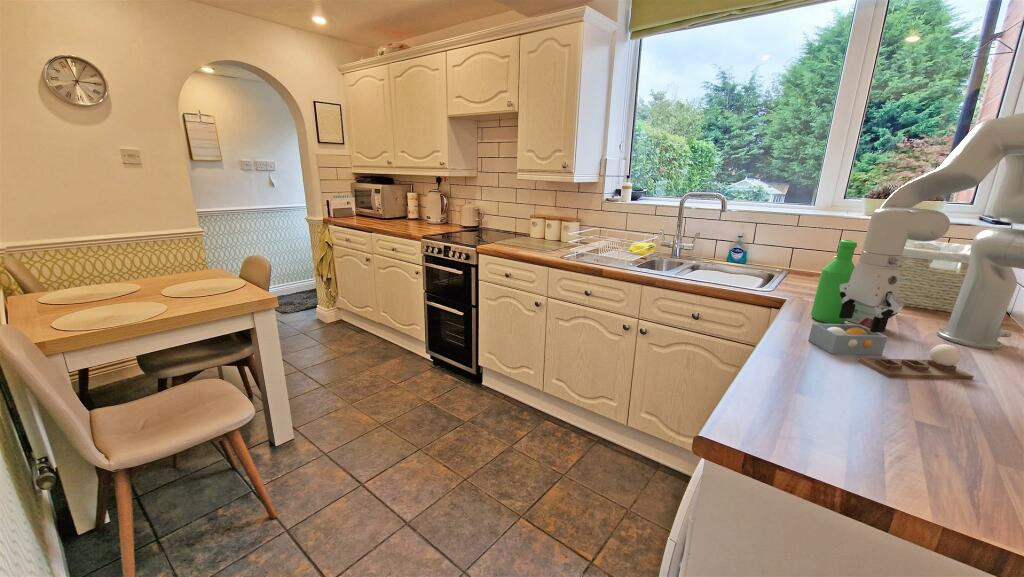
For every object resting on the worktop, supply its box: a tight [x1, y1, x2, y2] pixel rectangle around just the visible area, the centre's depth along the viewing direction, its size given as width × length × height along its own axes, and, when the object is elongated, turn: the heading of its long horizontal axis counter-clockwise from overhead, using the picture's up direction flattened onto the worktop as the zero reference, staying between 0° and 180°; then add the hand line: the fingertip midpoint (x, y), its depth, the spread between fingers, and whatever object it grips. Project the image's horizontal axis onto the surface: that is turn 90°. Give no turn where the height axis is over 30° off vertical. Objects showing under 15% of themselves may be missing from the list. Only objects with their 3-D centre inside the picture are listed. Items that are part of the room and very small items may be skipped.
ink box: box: [846, 301, 884, 329], centre depth 126 cm, size 8×5×12 cm, turn 26°
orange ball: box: [845, 328, 868, 335], centre depth 108 cm, size 5×5×5 cm
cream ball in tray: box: [827, 327, 847, 335], centre depth 107 cm, size 5×5×5 cm
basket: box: [897, 239, 971, 314], centre depth 150 cm, size 27×27×22 cm
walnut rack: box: [858, 357, 974, 380], centre depth 97 cm, size 20×8×2 cm, turn 92°
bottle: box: [810, 239, 858, 324], centre depth 125 cm, size 9×9×25 cm
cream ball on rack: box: [929, 343, 962, 366], centre depth 96 cm, size 5×5×5 cm
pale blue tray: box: [807, 322, 889, 356], centre depth 108 cm, size 13×8×5 cm, turn 92°
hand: (860, 324), depth 107 cm, fingers open, 9 cm apart
